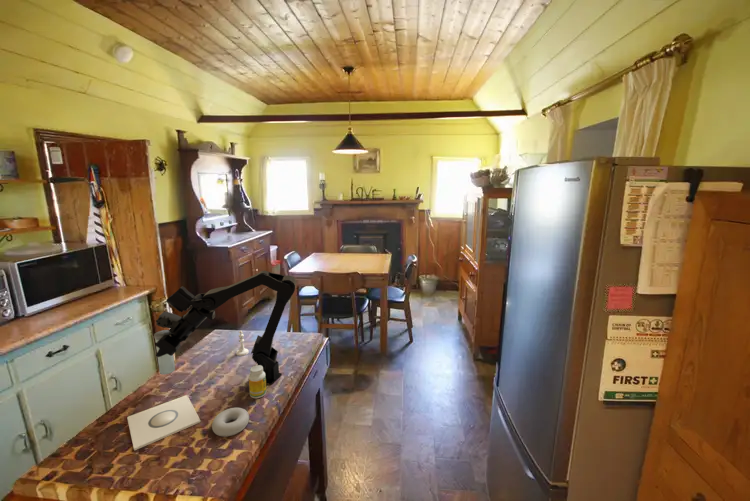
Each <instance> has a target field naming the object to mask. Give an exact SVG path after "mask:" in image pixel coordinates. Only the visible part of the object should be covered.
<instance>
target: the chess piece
mask: <svg viewBox="0 0 750 501" xmlns="http://www.w3.org/2000/svg"><path fill="white" fill-rule="evenodd" d="M244 336H245V335H244V332H243V331H242V330H240V331H239V332H238V338H239V340H238V342H239V344H240V345H239V347H240V348H239V349H238V350H236V356H240V357H242V356H246V355H248V354H249V353H250V352H249V349H248V348H245V344H244V342H245V339H244Z"/></svg>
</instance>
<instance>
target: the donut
mask: <svg viewBox="0 0 750 501" xmlns="http://www.w3.org/2000/svg"><path fill="white" fill-rule="evenodd" d="M249 422H250V414H249V412H248V411H247V410H246V409H245V408H242V407H230V408H227V409H225V410H222V411H221V412H220V413H218V414H217V415H216V416H215V417H214V419H213V420H212V424H211V429H212V432H213V433H214V434H215V435H217V436H219V437H225V438H226V437H232V436H234V435H237V434H239V433H240V432H242V431H243V430H245V428H246V427H247V425H248V424H249Z"/></svg>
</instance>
